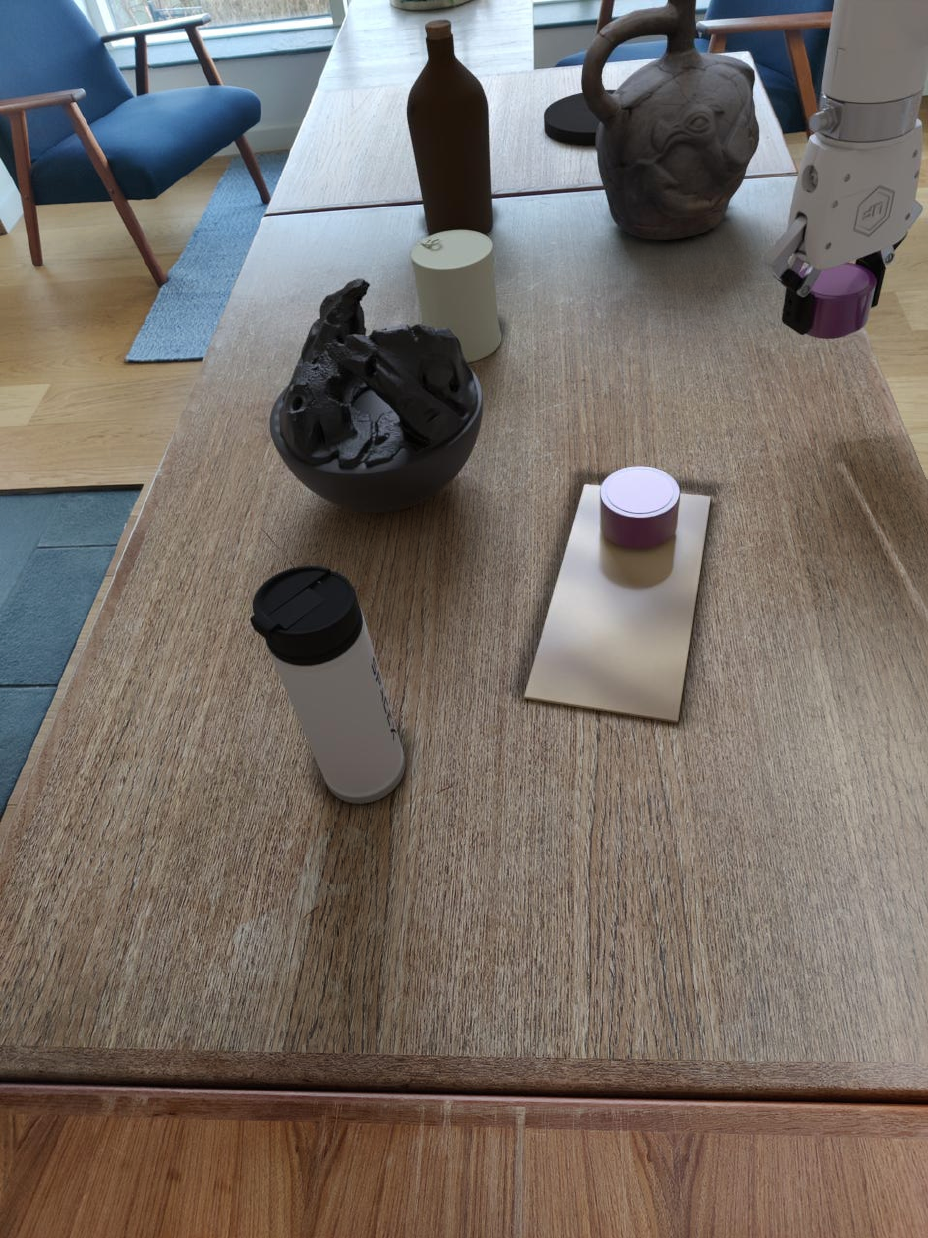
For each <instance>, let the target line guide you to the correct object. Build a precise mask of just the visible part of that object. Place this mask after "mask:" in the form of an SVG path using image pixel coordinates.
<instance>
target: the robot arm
mask: <svg viewBox="0 0 928 1238" xmlns="http://www.w3.org/2000/svg"><path fill="white" fill-rule="evenodd" d="M832 7H833V8H832V15H831V21H830V27H829V35H828V41H827V47H826V55H825V61H824V67H823V75H822V81H821V87H820V94H819V100H818V107H817V112H815V113H813V114H811V116H810V117H809V120H808V126H809V129H810V131H811V132H813V134H811V135H810V136H809V138H808V141H807V144H806V147H805V149H804V152H803V155H802V159H801V162H800V165H799V170H798V173H797V177H796V182H795V185H794V189H793V194H792V199H791V203H790V208H789V214H788V220H787V228H786V231H785V232H784V233H783V234H782V236H781V237H780V238H779V239H778V240H777V242H776V243H775V244H774V245H773V246H772V248H771V249H770V250H769V251H768V252H767V253H766V255H765V256H764V257H763V261H762V262H763V265H764V266H765V267H766V268H767V270H768V272H770V273H771V274H772V277H774V278H775V279H776V280H777V281H778V282H779V283H780V284H781V285H782V286H783V287H785V295H784V301H783V309H782V314H781V322H782V324H784V325H785V326H787V327H788V328H790V330H793V331H794V332H795V333H796V334H797V333H798V335H801V336H804V335H807V333H808V331H809V330H810V324H811V318H812V312H813V307H814V301H815V295H814V294H813V293H812V292H810V291H811V289H812V287H813V285H814V284H815V282H816V280H817V278H818V276H819V274H820V272H821V271H822V270H828V269H832V268H835V267H838V266H840V265H843V264H846V263H852V262H853V261H855V263H854V264H857V265H860V266H863V267H865V268H867V269H869V270H870V271H871V272H872V273H873V274H874V275H875V277H876V280H877V283H876V287H875V292H874V296H873V301H872V305H871V309H873V308H875V307H877V306H878V304H879V300H880V296H881V291H882V287H883V284H884V279H885V273H886V270H887V266H888V265H890V264H891V263H892V262H894V260H895V257H896V254H895V253H896V252H895V251H896V250H897V249H898V247H899V246H900V245H901V244H902V243H903V241H904V240H905V239H906V237H907V236H908V231H909V230H910V229H911V228H912V226H913V225H914V223H915V222H916V221H917V219H918V218H919V217H920V216H921V214H922V212H923V210H924V207H923V205H922V204H921V203H920V202H919V201H918V200H916V198H917V191H918V187H919V186H918V185H919V180H920V173H921V166H922V156H923V155H922V154H923V122H922V120H921V119H919V118H918V115H919V111H920V107H921V103H922V100H923V99H922V98H923V94H924V89H925V85H926V80H927V76H928V0H833V6H832ZM790 258H791V259H790ZM789 259H790V260H789ZM804 264H807V265H808V266H807V267H808V269H807V270H806V272H805V274H804V276H803V278H801V277H800V276H799V275H798V274H799V272H800V271H802V268H803V266H804Z"/></svg>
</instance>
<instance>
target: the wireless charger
mask: <svg viewBox="0 0 928 1238" xmlns="http://www.w3.org/2000/svg"><path fill="white" fill-rule="evenodd" d="M605 90H606V91H607V92H608V93H609V94H613V93H614V92H615V91H616V90H617V89H605ZM543 123H544V124H543V125H544V127H543V128H544V132H545V134H546V136H548V137H549V138H550V139H552V140H554V141H556V142H559V143H562V144H565V145H570V146H571V145H572V146H579V147H596V144H595V138H596V133H597V129H598V126H599V124H600V121H599V120H598V119H597V118H596V117H595V116H594V114H593V113H592V112H591V111H590V109H589V108H588V106H587V104H586V101H585V99H584V97H583V93H582V92H579V93H573V94H570V95H567V96H565V97H562V98H560V99H558V100H556V101H554V102H552V103H551V104H550V105H548V107H547V108H546V109H545V110H544V113H543Z"/></svg>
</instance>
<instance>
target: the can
mask: <svg viewBox="0 0 928 1238" xmlns="http://www.w3.org/2000/svg"><path fill="white" fill-rule="evenodd" d="M410 259H411V263H412V268H413V273H414V279H415V280H414V281H415V284H416V285H415V286H416V291H417V297H418V305H419V310H420V317H421V325H425V326H431V327H433V328H444V327H447V328H449V329H450V331H451V332H452V333H453V334H454V336H456V337H457V338H458V340H459V342H460V344H461V349H462V353H463V355H464V357H465V359H466V361H467V363H468V364H469V363H473V362H477V361H480V360H482V359H485V358H486V357H488V356H490V355H492V354H493V353H495V351H496V350H498V348H499V347H500V345H501V342H502V333H501V331H500V325H499V314H498V303H497V302H498V301H497V292H496V291H497V290H496V280H495V278H496V277H495V266H494V265H495V264H494V244H493V241H492V240H491V238H489V237H488V236H487V235H486V234H482V233H479V232H475V231H470V230H451V231H445V232H440V233H437V234H433V235H431V236H430V235H429V236H426V237H424V238H422V239H421V240H420V241H418V242H417V243H416V244H415V245H414V246H413V247H412V249H411V252H410Z"/></svg>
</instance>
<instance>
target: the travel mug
mask: <svg viewBox="0 0 928 1238" xmlns="http://www.w3.org/2000/svg"><path fill="white" fill-rule="evenodd" d="M252 612H253V615H252V616H251V617H250V619H249V622H250V624H251V626H252V629H253V630H254V631H255V632H256V633H257V634H259V635H260V636H262V637H263V638H264V641H265V645H266V648H267V651H268V652H269V655H270V657H271V660H272V662H273V664H274V666H275V669H276V671H277V674H278V675H279V678H280V680H281V683H282V685H283V687H284V690H285V691H286V694H287V697H288V699H289V701H290V704H291V706H292V709H293V710H294V713H295V715H296V717H297V719H298V722H299V724H300V726H301V727H300V728H301V729H302V731H303V734H304V736H305V739H306V741H307V742H308V745H309V747H310V749H311V752H312V753H313V757H314V759H315V761H316V764H317V766H318V768H319V770H320V773H321V774H322V777H323V779H324V782H325V785H326V786H327V788H328V790H329V792H331V793H332V794H333V796H335V797H336V798H337V799H339V800H341V801H343V802H346V803H350V804H355V805H357V804H358V805H359V804H362V805H363V804H369V803H372V802H376V801H379V800H381V799H382V798H384V797H386V796H388V795H389V794H390V793H392V792H393V791H394V790H395V789H396V787H397V786H398V785H399V784H400V782H401V781H402V779H403V776H404V773H405V770H406V756H405V753H404V750H403V746H402V742H401V739H400V736H399V731H398V729H397V726H396V722H395V718H394V716H393V712H392V709H391V705H390V702H389V697H388V695H387V691H386V688H385V685H384V681H383V677H382V673H381V671H380V667H379V664H378V660H377V657H376V654H375V650H374V647H373V643H372V639H371V637H370V632H369V629H368V626H367V623H366V620H365V619H366V618H365V616H364V613H363V610H362V607H361V606H360V602H359V598H358V594H357V592H356V589H355V588H354V585H353V584H352V583H351V581H350V580H349V578H347V577H346V576H345V575H343V574H341V573H340V572H338V571H332V570H331V568H328V567H325V566H321V565H301V566H296V567H291V568H288V569H285V570H283V571H280V572H278V573H277V574H274V575H273V576H271V577H270V578H268V579H267V580H266V581H264V582H263V584H262V585H260V586H259V588H258V589H257V591H256V593H255V594H254V597H253V599H252Z"/></svg>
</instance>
